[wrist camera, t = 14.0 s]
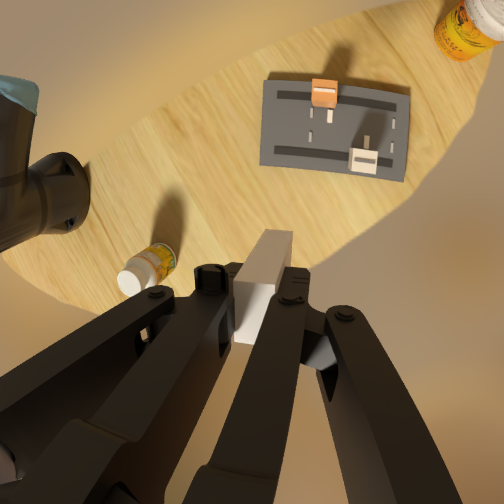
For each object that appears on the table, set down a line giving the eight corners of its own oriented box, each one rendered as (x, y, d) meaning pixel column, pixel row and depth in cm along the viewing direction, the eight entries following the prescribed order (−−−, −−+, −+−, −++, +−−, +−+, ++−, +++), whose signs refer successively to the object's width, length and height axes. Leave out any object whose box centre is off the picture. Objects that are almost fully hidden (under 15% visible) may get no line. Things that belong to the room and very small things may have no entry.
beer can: (425, 24, 25) (466, -24, 12) (461, 24, 24) (509, -15, 10) (441, 63, 27) (492, 30, 13) (475, 63, 25) (533, 36, 11)
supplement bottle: (158, 234, 45) (122, 256, 36) (183, 257, 45) (151, 285, 36) (143, 258, 47) (108, 282, 38) (167, 280, 47) (135, 309, 39)
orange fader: (313, 106, 32) (311, 99, 27) (313, 87, 31) (312, 78, 26) (335, 108, 31) (336, 102, 27) (336, 89, 30) (337, 80, 26)
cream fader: (347, 167, 33) (351, 171, 29) (349, 147, 33) (353, 148, 28) (369, 170, 33) (375, 174, 28) (370, 150, 32) (378, 151, 27)
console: (261, 164, 38) (259, 165, 36) (265, 82, 34) (263, 79, 32) (400, 181, 34) (404, 182, 33) (406, 97, 30) (410, 95, 29)
